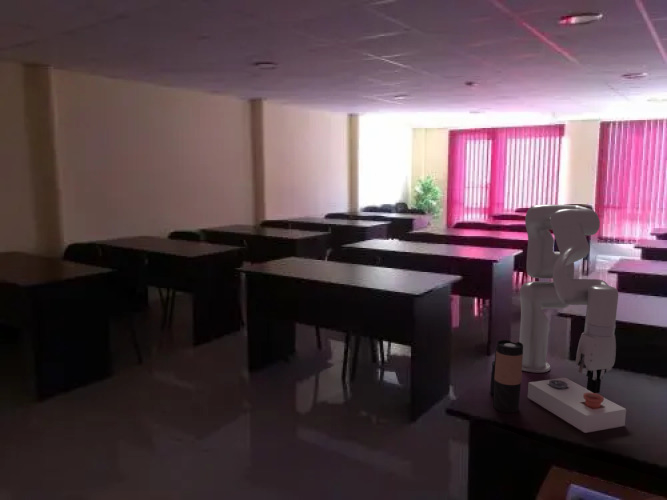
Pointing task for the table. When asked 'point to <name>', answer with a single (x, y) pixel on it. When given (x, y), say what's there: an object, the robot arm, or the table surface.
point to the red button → (593, 400)
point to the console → (576, 406)
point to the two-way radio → (493, 375)
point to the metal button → (558, 384)
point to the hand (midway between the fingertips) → (593, 391)
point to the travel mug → (508, 375)
